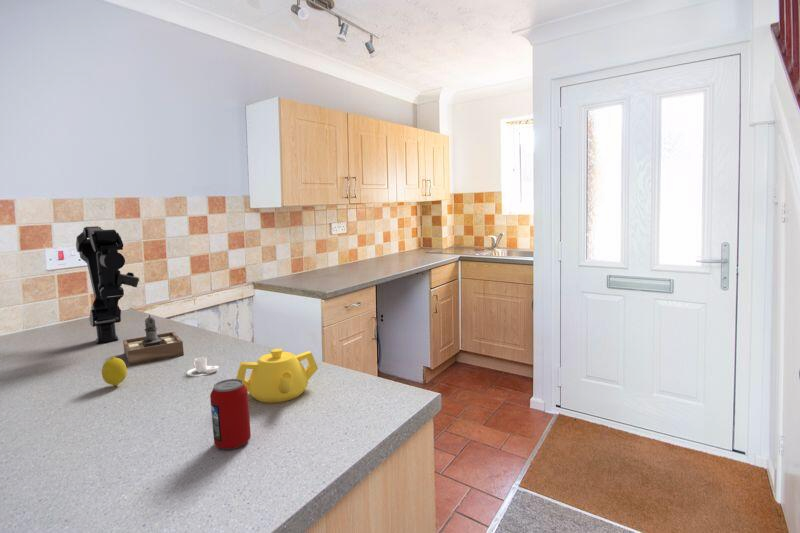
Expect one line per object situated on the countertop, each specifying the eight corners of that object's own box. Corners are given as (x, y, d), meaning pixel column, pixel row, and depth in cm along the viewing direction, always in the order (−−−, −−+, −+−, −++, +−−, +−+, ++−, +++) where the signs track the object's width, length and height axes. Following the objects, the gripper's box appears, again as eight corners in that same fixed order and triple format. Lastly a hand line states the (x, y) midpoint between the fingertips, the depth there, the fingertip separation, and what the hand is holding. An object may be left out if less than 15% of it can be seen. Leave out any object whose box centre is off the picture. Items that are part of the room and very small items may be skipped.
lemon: (133, 383, 121) (130, 354, 119) (114, 391, 115) (110, 361, 114) (117, 381, 122) (114, 352, 121) (98, 389, 117) (95, 359, 116)
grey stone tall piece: (161, 347, 149) (158, 311, 148) (164, 351, 144) (161, 315, 143) (141, 350, 146) (137, 314, 144) (143, 355, 141) (139, 318, 139)
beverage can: (220, 435, 91) (215, 378, 89) (254, 433, 92) (250, 376, 90) (209, 453, 84) (204, 392, 83) (246, 450, 85) (241, 390, 83)
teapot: (244, 420, 97) (240, 371, 96) (232, 391, 114) (229, 349, 112) (332, 400, 107) (330, 355, 105) (310, 376, 123) (308, 336, 121)
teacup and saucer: (223, 372, 128) (222, 358, 128) (195, 380, 122) (193, 366, 122) (209, 365, 134) (208, 352, 134) (182, 373, 128) (180, 359, 128)
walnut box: (124, 353, 147) (123, 340, 146) (175, 344, 155) (173, 331, 155) (129, 365, 135) (127, 351, 134) (183, 355, 143) (182, 341, 143)
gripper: (139, 267, 146) (144, 314, 148) (133, 263, 161) (137, 305, 163) (98, 271, 140) (103, 320, 142) (95, 266, 155) (100, 310, 157)
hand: (113, 313), depth 151 cm, fingers open, 9 cm apart
